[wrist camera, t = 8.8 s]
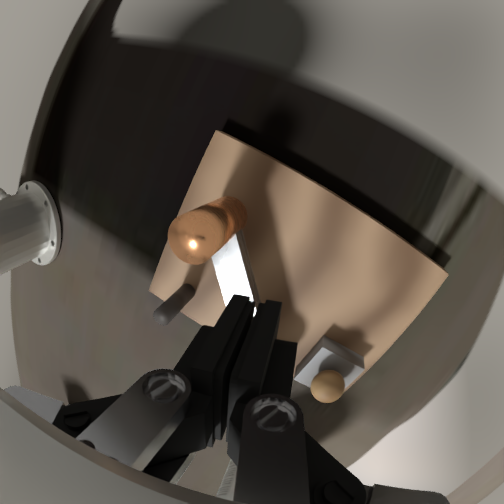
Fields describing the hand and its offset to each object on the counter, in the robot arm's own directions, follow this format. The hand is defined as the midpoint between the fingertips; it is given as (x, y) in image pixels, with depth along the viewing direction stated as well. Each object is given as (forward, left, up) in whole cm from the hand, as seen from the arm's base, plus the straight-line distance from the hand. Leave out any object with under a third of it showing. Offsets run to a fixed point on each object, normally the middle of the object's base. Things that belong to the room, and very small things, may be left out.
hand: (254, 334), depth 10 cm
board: (+2, -5, -17) cm, 18 cm away
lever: (-1, -7, -14) cm, 16 cm away
